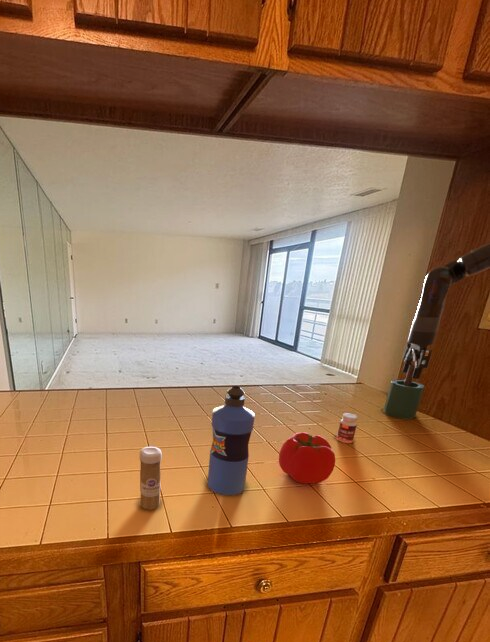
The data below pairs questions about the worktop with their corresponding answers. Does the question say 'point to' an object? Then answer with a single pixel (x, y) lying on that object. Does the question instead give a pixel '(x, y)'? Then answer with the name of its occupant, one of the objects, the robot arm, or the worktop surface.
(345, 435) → the pill bottle
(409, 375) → the brush
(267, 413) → the worktop surface
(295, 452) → the tomato
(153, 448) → the sprinkles bottle
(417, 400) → the jar
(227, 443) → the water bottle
